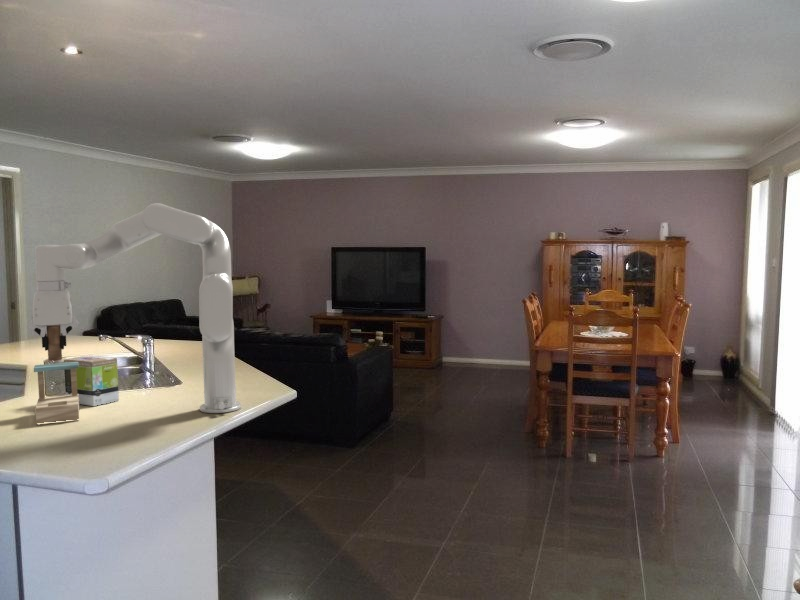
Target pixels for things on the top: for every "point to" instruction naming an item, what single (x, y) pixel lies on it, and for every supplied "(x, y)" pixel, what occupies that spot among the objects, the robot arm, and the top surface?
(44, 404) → the socket block
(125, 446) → the top surface
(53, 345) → the peg
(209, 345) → the robot arm
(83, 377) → the tea box
